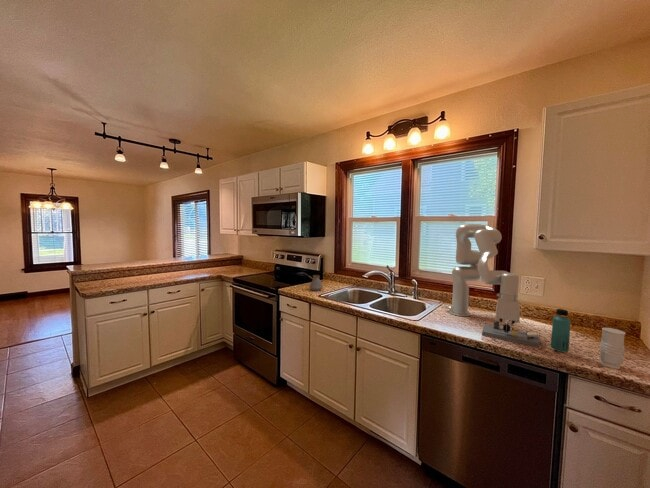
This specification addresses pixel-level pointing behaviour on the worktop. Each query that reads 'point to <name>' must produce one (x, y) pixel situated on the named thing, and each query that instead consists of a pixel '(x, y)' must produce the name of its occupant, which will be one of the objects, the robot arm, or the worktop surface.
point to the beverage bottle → (561, 331)
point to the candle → (612, 348)
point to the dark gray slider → (496, 324)
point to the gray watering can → (315, 283)
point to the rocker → (532, 334)
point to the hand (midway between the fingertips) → (506, 331)
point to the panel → (501, 334)
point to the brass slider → (514, 331)
